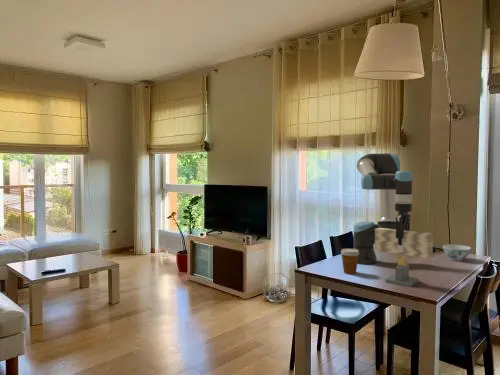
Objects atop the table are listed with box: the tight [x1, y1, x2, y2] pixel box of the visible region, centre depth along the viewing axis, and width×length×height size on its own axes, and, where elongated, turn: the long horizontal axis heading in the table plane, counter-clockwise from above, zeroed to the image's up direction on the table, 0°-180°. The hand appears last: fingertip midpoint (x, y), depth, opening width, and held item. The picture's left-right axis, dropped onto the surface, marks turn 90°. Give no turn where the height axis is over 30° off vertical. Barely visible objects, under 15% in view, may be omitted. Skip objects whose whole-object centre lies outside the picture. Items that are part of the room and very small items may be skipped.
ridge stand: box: [384, 255, 420, 288], centre depth 189 cm, size 12×12×12 cm
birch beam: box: [374, 228, 434, 259], centre depth 189 cm, size 26×5×11 cm, turn 50°
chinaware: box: [442, 243, 472, 262], centre depth 234 cm, size 15×15×8 cm
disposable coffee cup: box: [340, 248, 359, 275], centre depth 206 cm, size 10×10×12 cm
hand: (402, 250), depth 189 cm, fingers closed on birch beam, 5 cm apart
